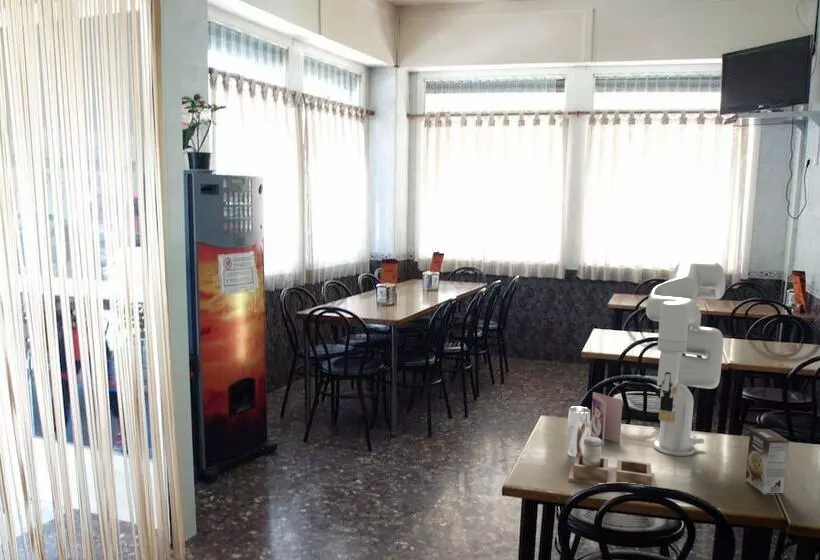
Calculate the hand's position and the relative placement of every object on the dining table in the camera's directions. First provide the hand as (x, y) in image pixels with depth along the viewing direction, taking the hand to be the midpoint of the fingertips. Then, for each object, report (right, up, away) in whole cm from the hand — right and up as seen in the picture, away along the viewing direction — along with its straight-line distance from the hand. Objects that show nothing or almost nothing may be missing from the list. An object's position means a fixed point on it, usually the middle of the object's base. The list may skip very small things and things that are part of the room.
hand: (667, 407), depth 191 cm
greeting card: (-7, -18, +38) cm, 42 cm away
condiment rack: (-14, -22, +7) cm, 27 cm away
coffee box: (+29, -24, +3) cm, 38 cm away
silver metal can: (-20, -20, +24) cm, 37 cm away
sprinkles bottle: (0, -4, +1) cm, 4 cm away
